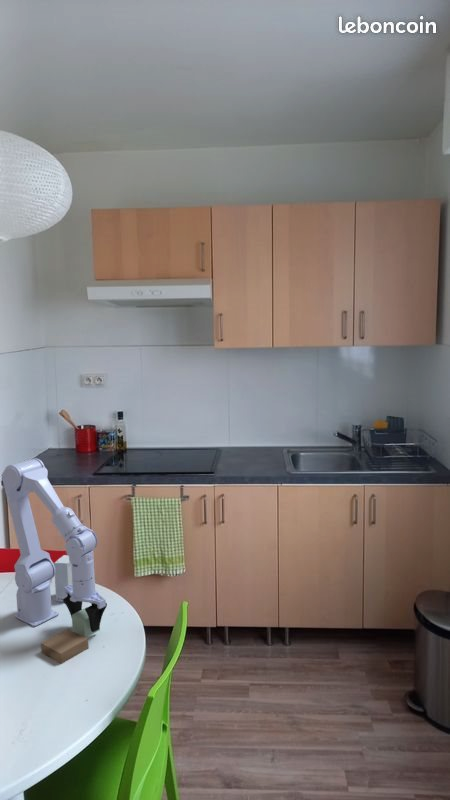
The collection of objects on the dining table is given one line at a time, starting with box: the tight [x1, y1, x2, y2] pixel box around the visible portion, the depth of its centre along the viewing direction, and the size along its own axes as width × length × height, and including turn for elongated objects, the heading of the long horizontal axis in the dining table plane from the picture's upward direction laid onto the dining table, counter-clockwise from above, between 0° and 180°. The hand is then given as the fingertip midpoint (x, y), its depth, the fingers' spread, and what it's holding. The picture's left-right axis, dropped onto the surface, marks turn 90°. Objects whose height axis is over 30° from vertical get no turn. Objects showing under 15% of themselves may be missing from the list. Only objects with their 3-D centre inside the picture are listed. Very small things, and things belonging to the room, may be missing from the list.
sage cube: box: [71, 606, 101, 638], centre depth 149 cm, size 5×5×5 cm
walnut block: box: [40, 628, 89, 665], centre depth 140 cm, size 8×8×3 cm
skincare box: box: [53, 554, 72, 603], centre depth 167 cm, size 6×4×12 cm
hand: (86, 626), depth 149 cm, fingers open, 7 cm apart
